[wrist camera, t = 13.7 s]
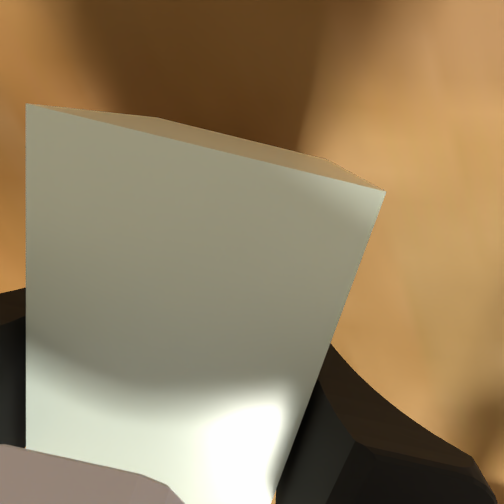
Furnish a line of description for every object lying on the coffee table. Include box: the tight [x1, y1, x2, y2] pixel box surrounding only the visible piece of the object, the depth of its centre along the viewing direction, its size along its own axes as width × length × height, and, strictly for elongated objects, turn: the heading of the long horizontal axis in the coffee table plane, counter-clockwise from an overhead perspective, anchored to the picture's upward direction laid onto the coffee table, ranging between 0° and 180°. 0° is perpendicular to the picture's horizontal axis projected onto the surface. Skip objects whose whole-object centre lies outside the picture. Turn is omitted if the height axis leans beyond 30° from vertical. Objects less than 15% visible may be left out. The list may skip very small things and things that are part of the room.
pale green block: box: [26, 103, 386, 504], centre depth 11 cm, size 6×12×7 cm, turn 167°
